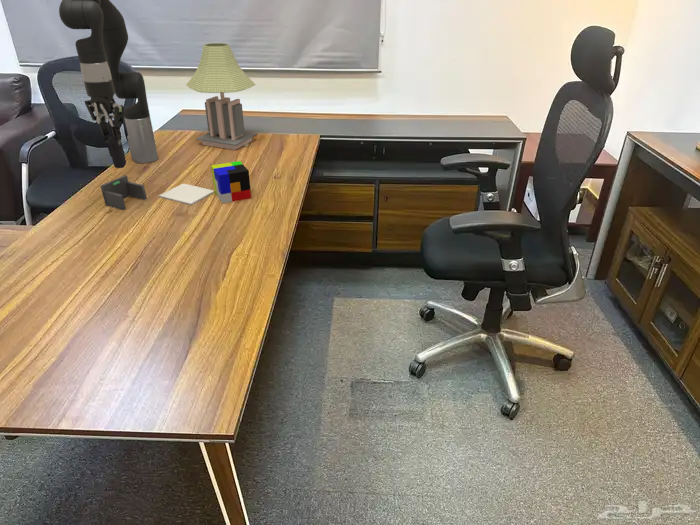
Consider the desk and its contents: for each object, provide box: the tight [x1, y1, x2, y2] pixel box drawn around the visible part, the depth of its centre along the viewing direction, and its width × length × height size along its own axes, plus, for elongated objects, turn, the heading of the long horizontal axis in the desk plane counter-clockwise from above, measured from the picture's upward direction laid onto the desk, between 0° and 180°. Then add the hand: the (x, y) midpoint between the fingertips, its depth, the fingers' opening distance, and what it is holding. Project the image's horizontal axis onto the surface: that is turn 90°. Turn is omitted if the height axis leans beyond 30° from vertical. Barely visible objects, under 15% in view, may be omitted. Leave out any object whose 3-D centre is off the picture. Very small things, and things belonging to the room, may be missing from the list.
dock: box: [99, 175, 148, 211], centre depth 161 cm, size 8×10×7 cm
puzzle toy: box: [210, 160, 252, 204], centre depth 166 cm, size 10×10×10 cm
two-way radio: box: [103, 119, 127, 169], centre depth 152 cm, size 6×4×15 cm
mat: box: [158, 183, 215, 206], centre depth 168 cm, size 14×12×1 cm
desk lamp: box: [185, 42, 258, 151], centre depth 206 cm, size 26×28×40 cm
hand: (111, 136), depth 151 cm, fingers closed on two-way radio, 4 cm apart
